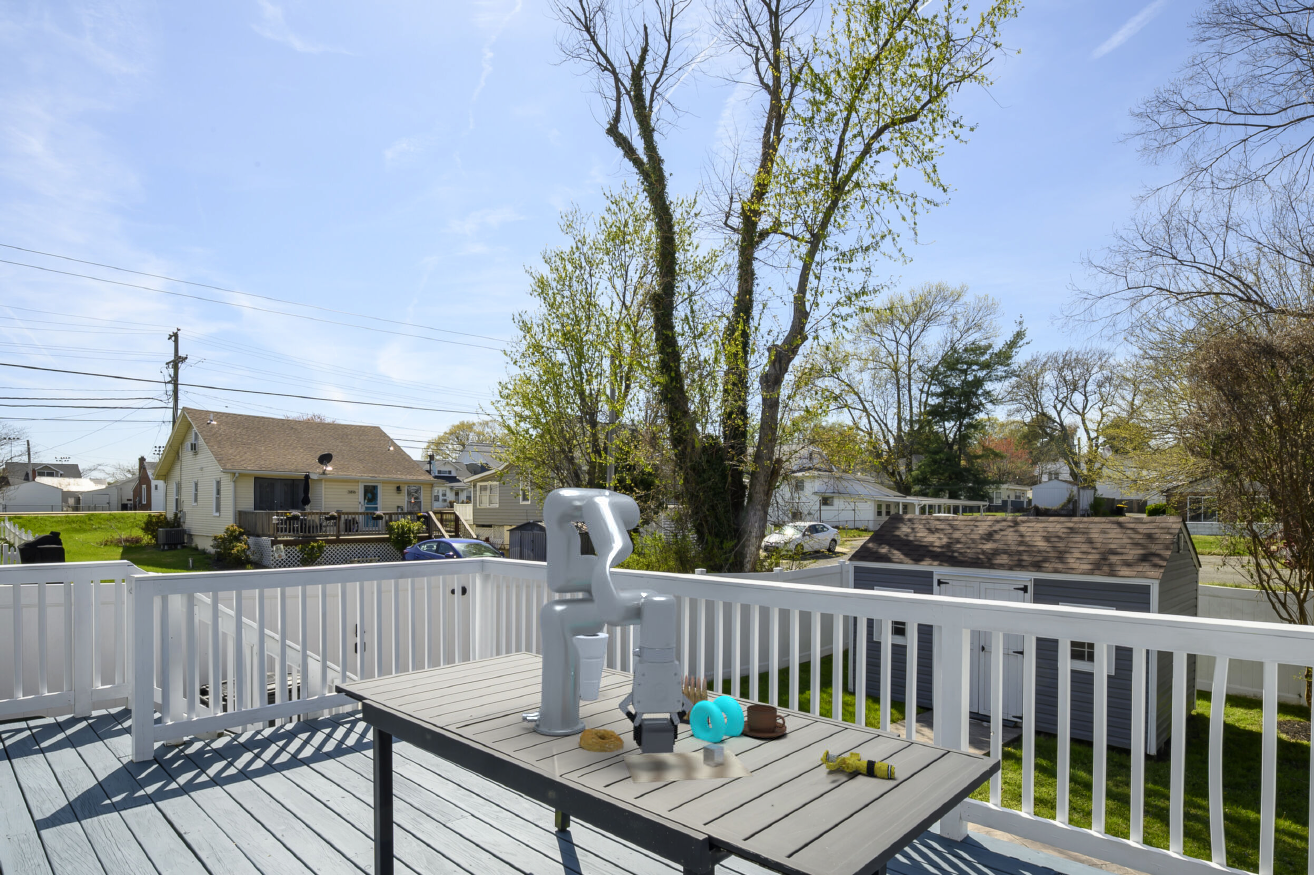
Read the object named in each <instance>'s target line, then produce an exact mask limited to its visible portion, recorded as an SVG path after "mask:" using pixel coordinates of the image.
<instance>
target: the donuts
mask: <svg viewBox="0 0 1314 875" xmlns="http://www.w3.org/2000/svg"><path fill="white" fill-rule="evenodd" d="M724 715H725V717H726V720H725V717H724ZM708 717H709V725H708V723H707V718H708ZM744 721H745V714H744V711H743V709H742V706H741V704H740V703H739V702H738V701H737V700H736V699H735V698H733V697H732V696H729V695H721V696H718V697H716V698H714V700H713V701H710V700H708V701H705V700H704V701H700V702H698V703H697V704H695V706H694V707H693V709H692V711H691V714H690V725H689V727H690V730H691V733H692V734H693V736H694V738H696V739H698V740H701V741H705V742H708V743H714V744H718V743H720V742H721V741H722V739H723V738H724V736H727V737H740V735H741V734H742V730H743V728H744ZM710 725H711V726H710Z"/></svg>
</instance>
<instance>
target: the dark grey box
mask: <svg viewBox="0 0 1314 875" xmlns="http://www.w3.org/2000/svg"><path fill="white" fill-rule="evenodd" d="M640 725H641V727H642V730H641V746H638V748H639V750H640V752H641V755H647V754H666V753H674V749H675V748H674V746H675V745H674V726H673V725H672V723H671V722H670V718H669V717H647V718H646V717H645V718H644V717H642V719H641V721H640Z"/></svg>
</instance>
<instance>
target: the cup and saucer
mask: <svg viewBox="0 0 1314 875" xmlns="http://www.w3.org/2000/svg"><path fill="white" fill-rule="evenodd" d="M778 718H779V719H781V720H782V722H779V721H778ZM787 728H788V727H787V725H786V720H785V717H784V716H783V715H781V714H778V708H777V707H775V706H772V705H768V704H751V705H748V706H746V720H745V719H744V728H743V730H742V732H741V734H744V735H747V736H749V737H755V738H765V739H766V738H767V739H768V738H776V737H779V736H782V735H784V734H785V733H786V732H787Z"/></svg>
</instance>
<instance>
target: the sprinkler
mask: <svg viewBox="0 0 1314 875" xmlns="http://www.w3.org/2000/svg"><path fill="white" fill-rule="evenodd" d="M820 762H821V763H822V764H823V765H825V769H826V770H830V771H835V770H837V769H839V770H842V771H846V772H847V773H852V772H854V771H858V772H860V774H864V775H866V776H868V777H873V776H874V777H875V776H877V778H880V779H881V778H883V779H886V780H887V779H893V778H895V777H896V771H895V770H896V767H895V766H894V765H892V764H889V763H887V762H883V761H879V760H877V761H876V760H873V759H872V760H871V759H867V760H864V759H861V753H860V752H854V751H849V755H848V756H841V755H840V756H838V755H837V754H830V753H829V749H826V750H825V751H824V752H823V754H822V757H820ZM874 777H873V778H874Z"/></svg>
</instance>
